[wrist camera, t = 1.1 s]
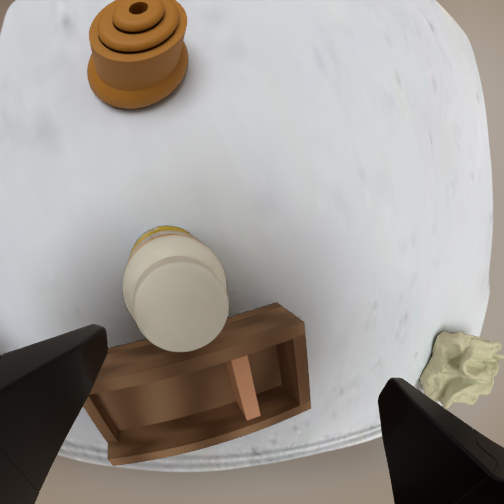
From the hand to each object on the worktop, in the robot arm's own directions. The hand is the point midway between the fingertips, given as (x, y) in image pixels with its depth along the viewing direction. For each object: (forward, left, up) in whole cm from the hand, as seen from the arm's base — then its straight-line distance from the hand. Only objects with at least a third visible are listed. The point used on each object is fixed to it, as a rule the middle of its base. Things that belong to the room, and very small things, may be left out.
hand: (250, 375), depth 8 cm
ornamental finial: (-1, +16, -14) cm, 21 cm away
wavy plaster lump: (+36, -26, -14) cm, 46 cm away
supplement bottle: (-1, +1, -14) cm, 14 cm away
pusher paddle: (+2, -9, -13) cm, 16 cm away
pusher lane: (-2, -9, -14) cm, 17 cm away
